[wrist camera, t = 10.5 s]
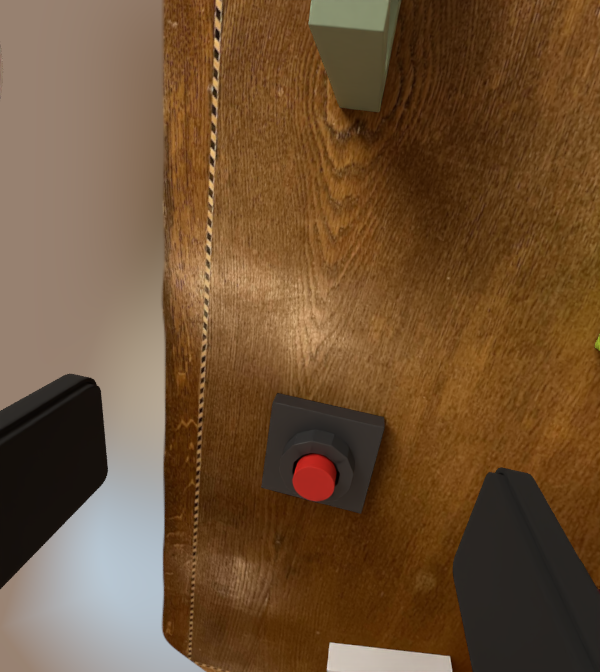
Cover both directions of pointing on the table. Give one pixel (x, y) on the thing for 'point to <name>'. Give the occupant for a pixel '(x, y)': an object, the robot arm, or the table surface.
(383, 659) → the white open holder
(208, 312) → the table surface
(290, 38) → the table surface
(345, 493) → the dark grey mounting base
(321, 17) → the window frame
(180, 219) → the table surface
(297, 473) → the button
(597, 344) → the box
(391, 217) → the table surface
